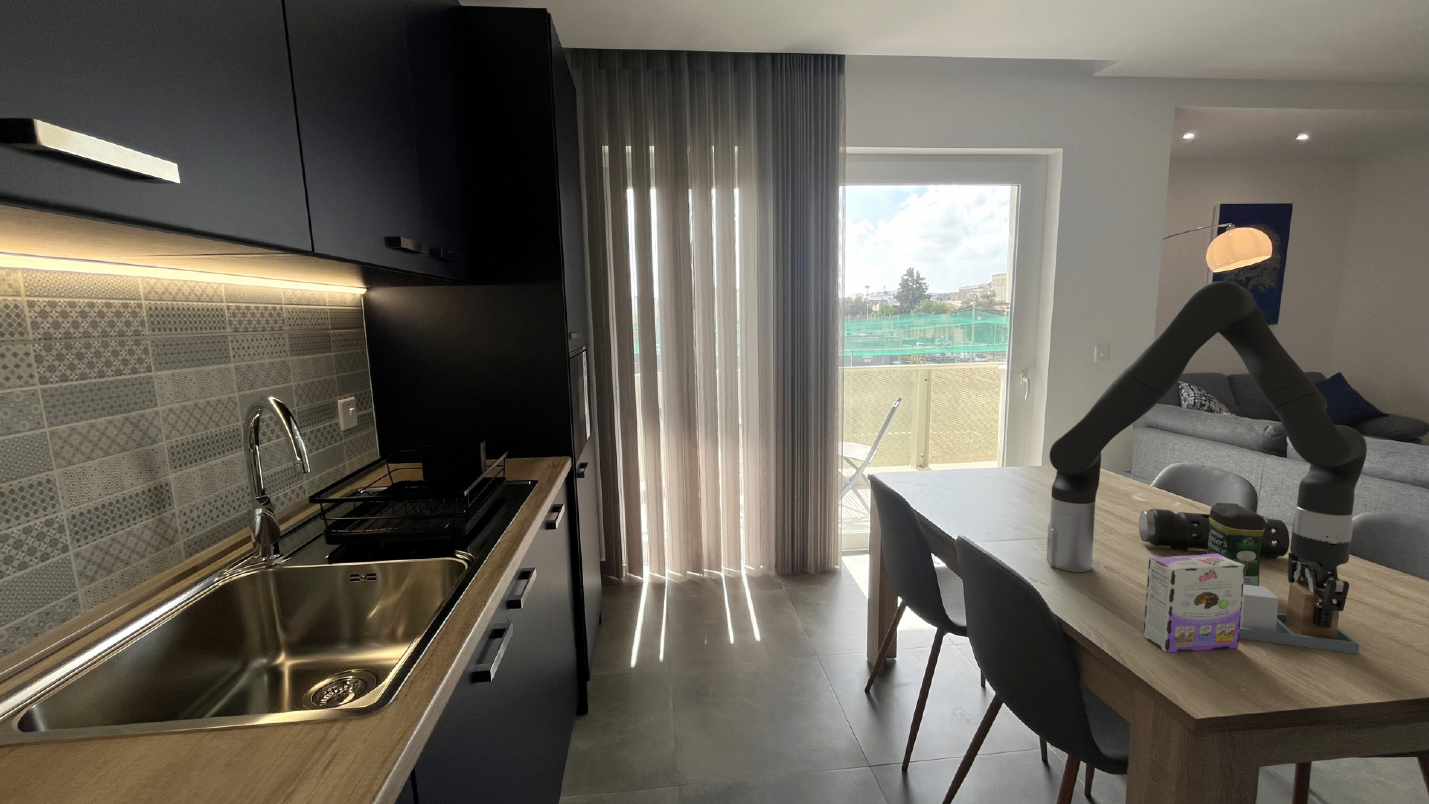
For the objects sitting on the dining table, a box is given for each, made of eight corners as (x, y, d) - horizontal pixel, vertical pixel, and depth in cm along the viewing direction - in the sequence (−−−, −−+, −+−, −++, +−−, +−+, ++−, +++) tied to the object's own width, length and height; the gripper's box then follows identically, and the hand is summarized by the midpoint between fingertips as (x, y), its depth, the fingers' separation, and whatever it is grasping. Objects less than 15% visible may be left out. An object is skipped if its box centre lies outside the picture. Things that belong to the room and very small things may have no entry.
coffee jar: (1197, 575, 135) (1203, 499, 132) (1237, 577, 133) (1244, 500, 130) (1222, 594, 125) (1229, 513, 123) (1265, 597, 124) (1274, 514, 121)
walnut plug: (1299, 639, 107) (1304, 594, 106) (1285, 626, 111) (1289, 582, 110) (1335, 644, 105) (1340, 598, 104) (1318, 630, 110) (1324, 586, 108)
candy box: (1210, 632, 111) (1218, 552, 109) (1239, 649, 105) (1247, 565, 103) (1141, 636, 110) (1147, 555, 108) (1166, 653, 105) (1173, 568, 102)
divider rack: (1232, 637, 109) (1236, 598, 108) (1211, 614, 117) (1215, 577, 116) (1358, 654, 102) (1363, 612, 101) (1326, 628, 111) (1331, 589, 110)
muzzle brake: (1288, 567, 138) (1292, 526, 136) (1146, 552, 148) (1149, 514, 147) (1268, 552, 146) (1272, 513, 145) (1136, 539, 157) (1139, 503, 156)
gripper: (1274, 518, 113) (1266, 598, 116) (1317, 545, 100) (1307, 634, 103) (1324, 522, 111) (1314, 603, 113) (1375, 550, 97) (1363, 641, 100)
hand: (1311, 617), depth 108 cm, fingers open, 6 cm apart
